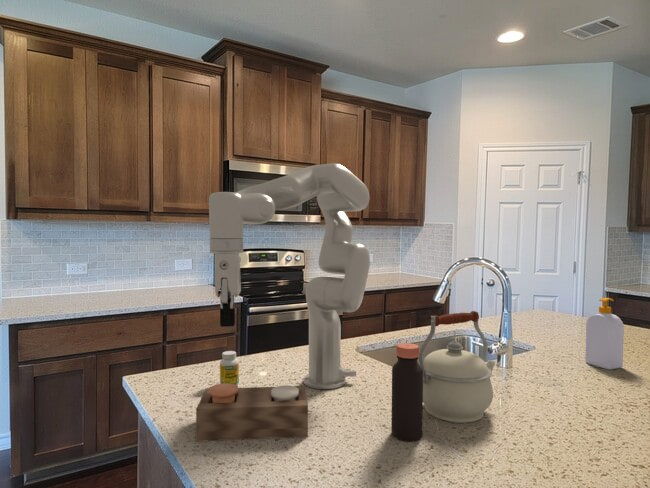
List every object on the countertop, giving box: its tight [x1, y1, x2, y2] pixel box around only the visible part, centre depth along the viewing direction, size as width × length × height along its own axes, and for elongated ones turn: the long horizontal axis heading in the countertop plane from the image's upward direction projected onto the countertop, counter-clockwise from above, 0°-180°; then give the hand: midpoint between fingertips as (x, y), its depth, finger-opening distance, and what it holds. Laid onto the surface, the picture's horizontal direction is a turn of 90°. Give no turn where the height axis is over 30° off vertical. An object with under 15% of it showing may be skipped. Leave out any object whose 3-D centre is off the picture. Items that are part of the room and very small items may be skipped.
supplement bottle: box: [219, 350, 240, 386], centre depth 128 cm, size 5×5×10 cm
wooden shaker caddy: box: [195, 385, 309, 442], centre depth 101 cm, size 24×12×7 cm, turn 96°
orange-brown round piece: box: [208, 383, 239, 403], centre depth 100 cm, size 6×6×6 cm
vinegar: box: [390, 342, 424, 442], centre depth 97 cm, size 7×7×20 cm
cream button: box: [271, 385, 299, 401], centre depth 101 cm, size 6×6×6 cm
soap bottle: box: [584, 297, 625, 371], centre depth 149 cm, size 9×7×23 cm
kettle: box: [418, 310, 496, 424], centre depth 110 cm, size 25×18×25 cm
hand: (227, 325), depth 101 cm, fingers closed
